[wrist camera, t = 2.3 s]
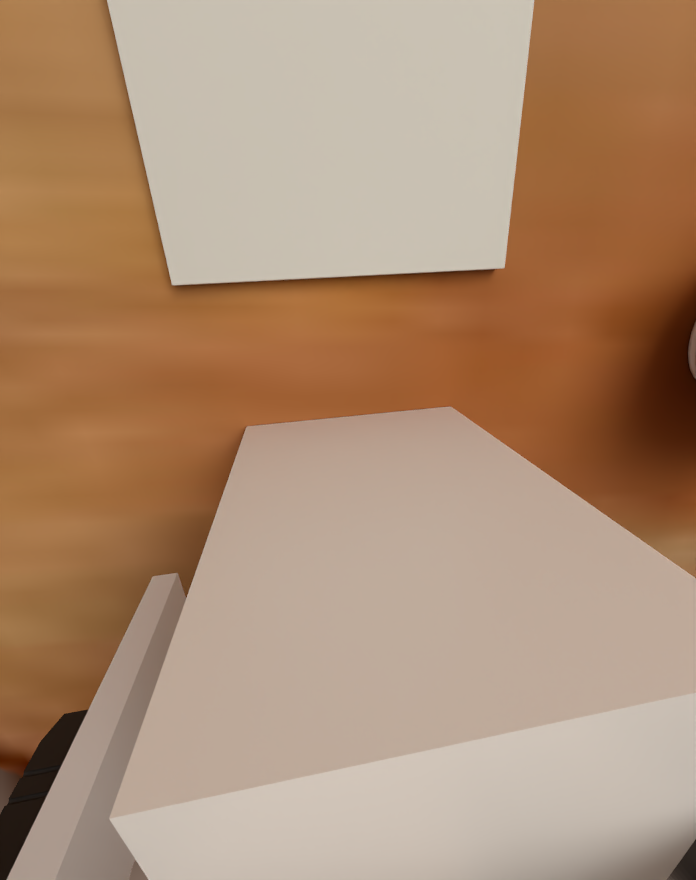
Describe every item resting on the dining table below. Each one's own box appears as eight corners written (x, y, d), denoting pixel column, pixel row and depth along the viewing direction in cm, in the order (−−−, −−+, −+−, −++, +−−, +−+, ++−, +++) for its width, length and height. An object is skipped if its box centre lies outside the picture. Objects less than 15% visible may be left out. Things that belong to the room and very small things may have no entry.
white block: (440, 562, 19) (638, 919, 8) (275, 587, 18) (248, 1034, 7) (450, 406, 16) (819, 665, 5) (246, 426, 15) (108, 818, 4)
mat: (495, 269, 14) (504, 267, 13) (177, 285, 12) (172, 285, 12) (563, -391, 8) (582, -439, 8) (3, -494, 7) (-22, -563, 6)
